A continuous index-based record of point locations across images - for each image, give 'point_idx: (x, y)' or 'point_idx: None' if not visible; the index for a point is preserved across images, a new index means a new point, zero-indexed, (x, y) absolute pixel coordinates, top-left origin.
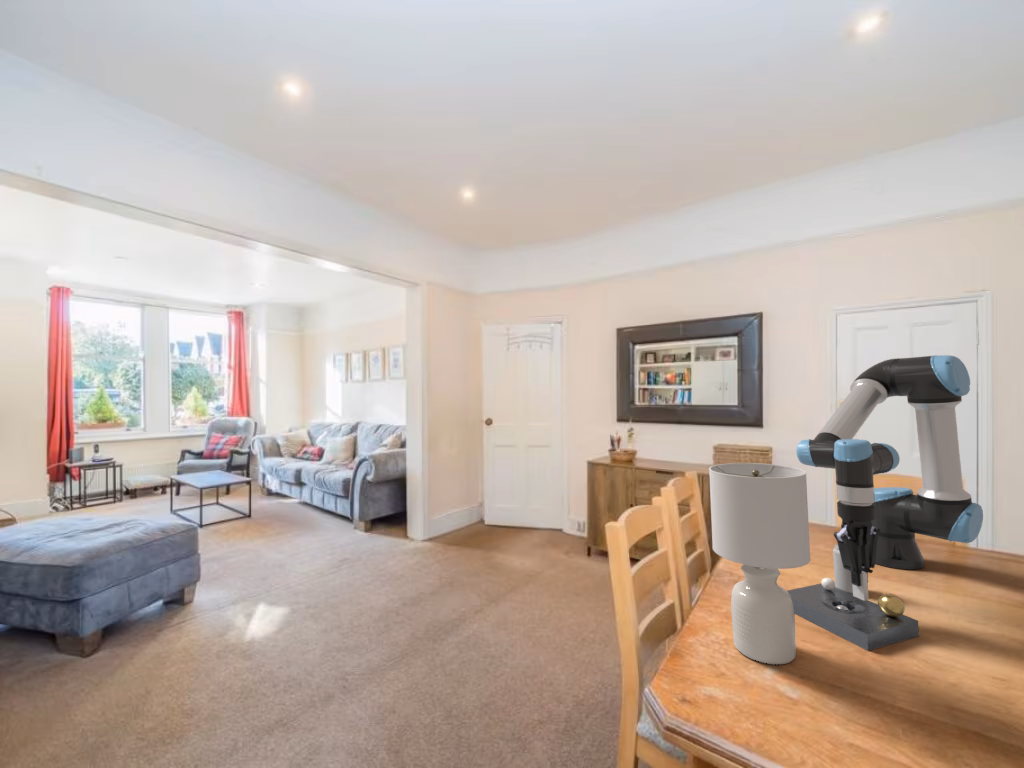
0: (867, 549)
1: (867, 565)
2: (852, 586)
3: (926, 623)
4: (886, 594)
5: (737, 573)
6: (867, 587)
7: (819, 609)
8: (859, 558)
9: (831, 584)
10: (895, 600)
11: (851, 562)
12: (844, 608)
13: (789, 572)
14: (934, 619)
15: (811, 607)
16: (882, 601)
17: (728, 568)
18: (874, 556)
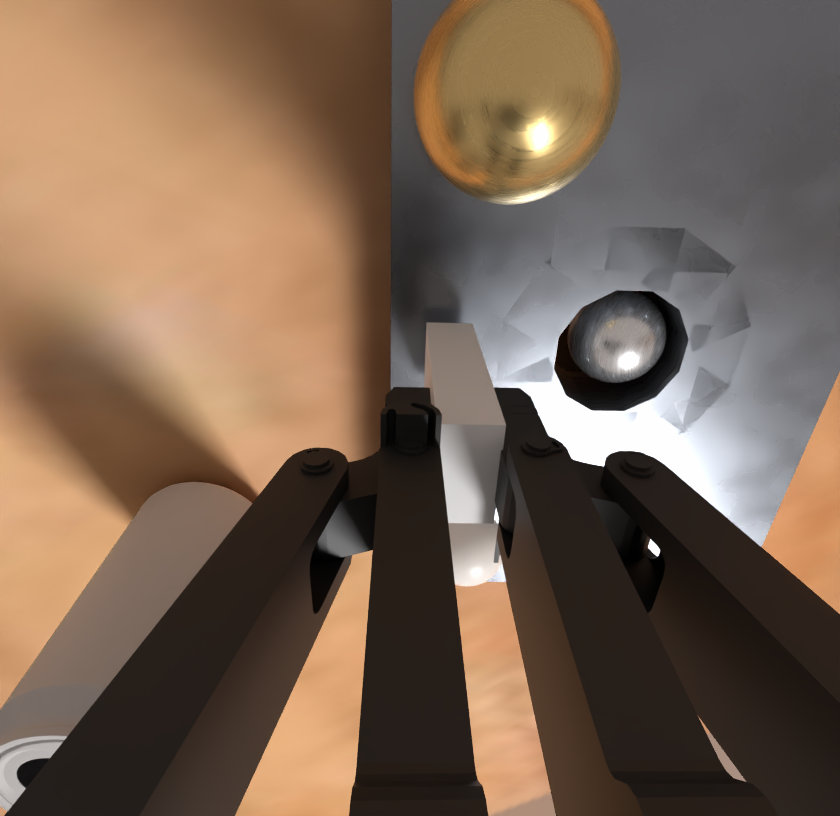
0: (398, 665)
1: (414, 476)
2: (230, 517)
3: (154, 78)
4: (542, 130)
5: (532, 758)
6: (434, 359)
7: (812, 373)
8: (590, 558)
9: (484, 527)
10: (570, 10)
11: (744, 535)
12: (642, 330)
13: (312, 710)
14: (42, 93)
15: (818, 408)
16: (610, 119)
17: (518, 790)
18: (248, 544)
